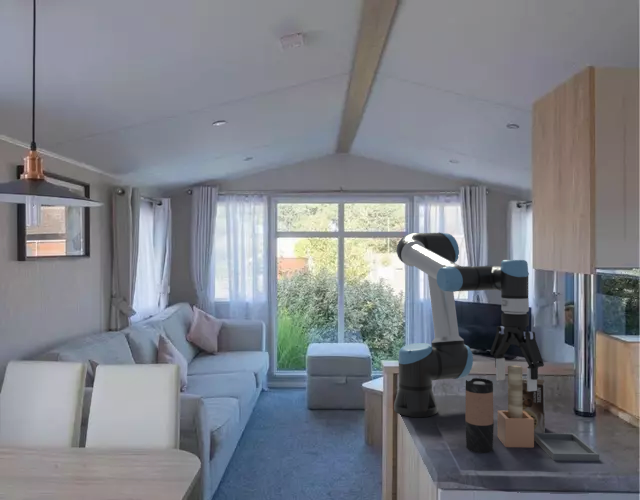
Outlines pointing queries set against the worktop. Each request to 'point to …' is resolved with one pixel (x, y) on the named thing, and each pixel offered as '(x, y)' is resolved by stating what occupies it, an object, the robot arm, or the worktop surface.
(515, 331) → the robot arm
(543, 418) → the coffee box
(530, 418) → the pot
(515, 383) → the dowel
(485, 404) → the travel mug
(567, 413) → the worktop surface
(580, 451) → the tray
